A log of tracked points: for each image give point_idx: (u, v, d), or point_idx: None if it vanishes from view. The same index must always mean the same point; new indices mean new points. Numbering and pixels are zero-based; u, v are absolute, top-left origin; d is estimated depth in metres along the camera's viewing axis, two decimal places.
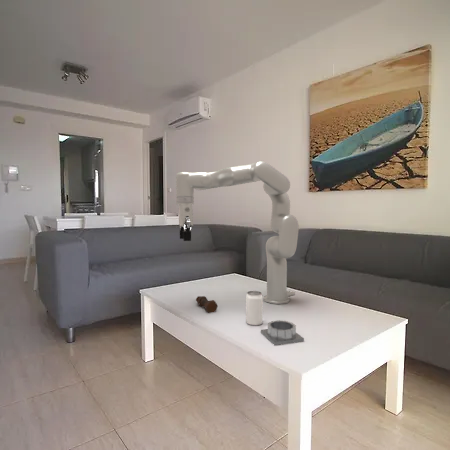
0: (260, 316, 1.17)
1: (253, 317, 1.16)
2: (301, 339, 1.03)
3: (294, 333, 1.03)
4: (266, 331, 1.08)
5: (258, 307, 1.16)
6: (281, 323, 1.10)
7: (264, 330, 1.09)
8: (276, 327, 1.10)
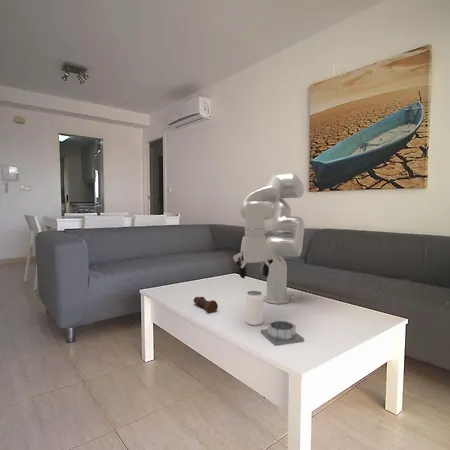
0: (260, 316, 1.17)
1: (253, 317, 1.16)
2: (301, 339, 1.03)
3: (294, 333, 1.03)
4: (266, 331, 1.08)
5: (258, 307, 1.16)
6: (281, 323, 1.10)
7: (264, 330, 1.09)
8: (276, 327, 1.10)
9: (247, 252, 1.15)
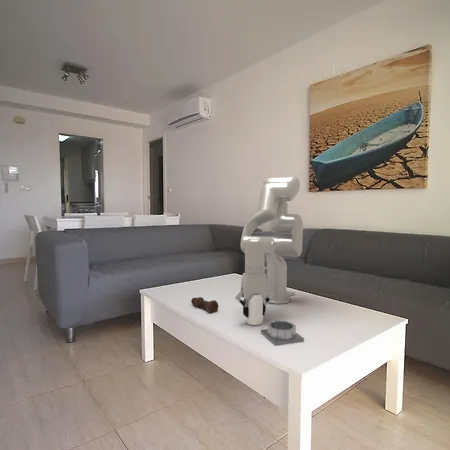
0: (260, 316, 1.17)
1: (254, 317, 1.16)
2: (301, 339, 1.03)
3: (294, 333, 1.03)
4: (266, 331, 1.08)
5: (258, 307, 1.16)
6: (281, 323, 1.10)
7: (264, 330, 1.09)
8: (276, 327, 1.10)
9: (247, 290, 1.16)
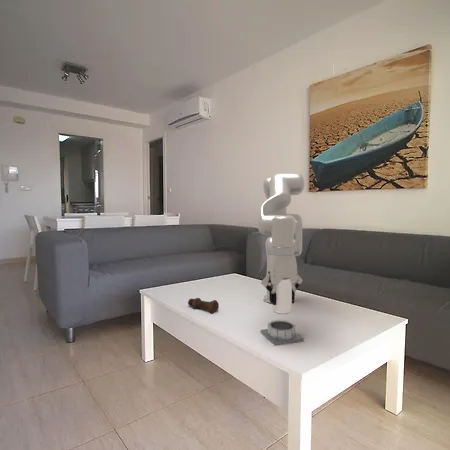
0: (289, 303, 1.03)
1: (282, 304, 1.02)
2: (301, 339, 1.03)
3: (294, 333, 1.03)
4: (266, 331, 1.08)
5: (287, 293, 1.02)
6: (281, 323, 1.10)
7: (264, 330, 1.09)
8: (276, 327, 1.10)
9: (275, 273, 1.02)
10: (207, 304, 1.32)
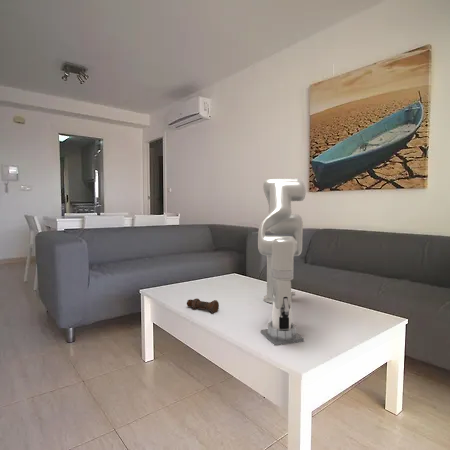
0: None
1: None
2: (301, 339, 1.03)
3: (294, 333, 1.03)
4: (266, 331, 1.08)
5: None
6: None
7: (264, 330, 1.09)
8: None
9: None
10: (207, 304, 1.32)
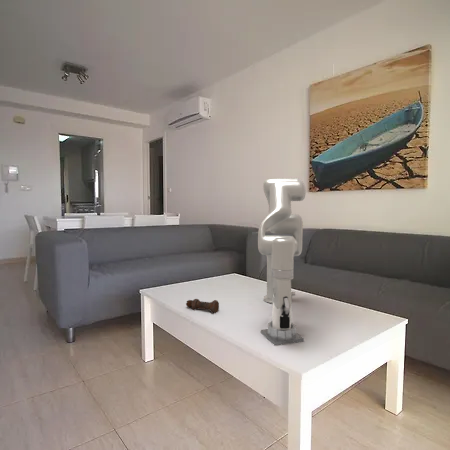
0: None
1: (290, 325, 1.05)
2: (301, 339, 1.03)
3: (294, 333, 1.03)
4: (266, 331, 1.08)
5: None
6: None
7: (264, 330, 1.09)
8: None
9: None
10: (208, 304, 1.32)
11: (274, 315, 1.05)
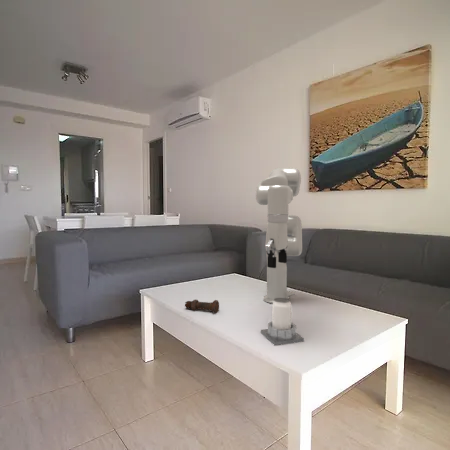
0: None
1: (290, 325, 1.05)
2: (301, 339, 1.03)
3: (294, 333, 1.03)
4: (266, 331, 1.08)
5: None
6: None
7: (264, 330, 1.09)
8: None
9: (279, 239, 1.08)
10: (209, 305, 1.32)
11: (274, 315, 1.05)
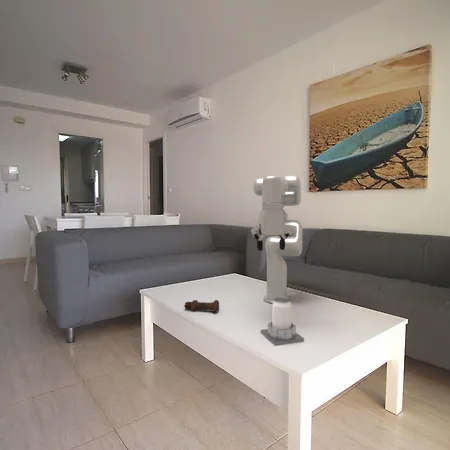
0: None
1: (290, 325, 1.05)
2: (301, 339, 1.03)
3: (294, 333, 1.03)
4: (266, 331, 1.08)
5: None
6: None
7: (264, 330, 1.09)
8: None
9: (265, 225, 1.19)
10: (209, 305, 1.31)
11: (274, 315, 1.05)
